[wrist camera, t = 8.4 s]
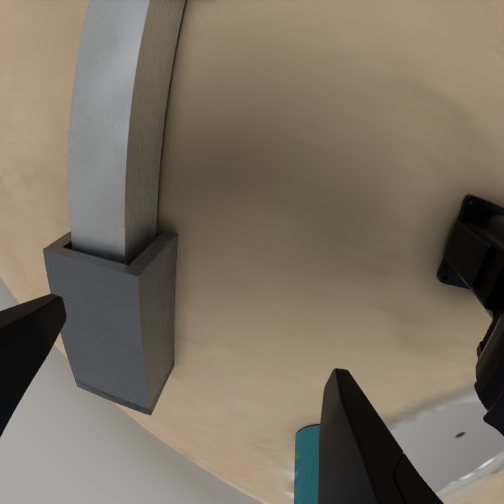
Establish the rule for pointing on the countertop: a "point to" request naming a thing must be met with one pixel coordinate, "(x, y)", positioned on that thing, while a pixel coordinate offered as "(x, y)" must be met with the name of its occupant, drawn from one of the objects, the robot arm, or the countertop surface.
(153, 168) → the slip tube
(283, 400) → the countertop surface
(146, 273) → the sleeve
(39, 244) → the countertop surface
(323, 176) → the countertop surface
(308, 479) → the tube
